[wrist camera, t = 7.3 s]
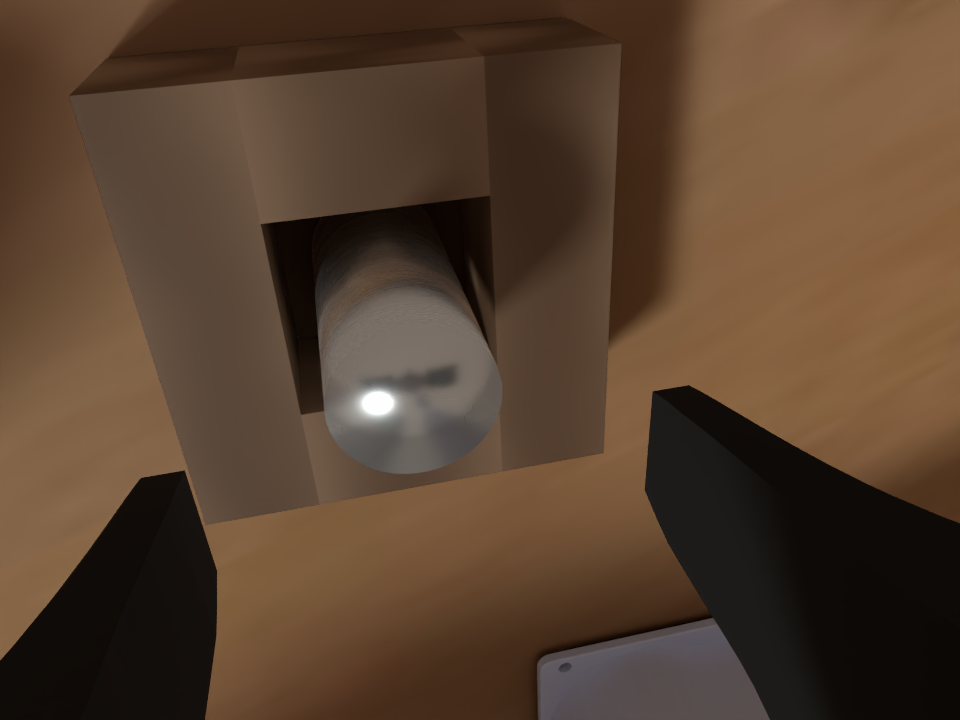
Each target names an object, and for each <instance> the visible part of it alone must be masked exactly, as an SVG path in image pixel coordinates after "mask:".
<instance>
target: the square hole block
mask: <svg viewBox="0 0 960 720" xmlns="http://www.w3.org/2000/svg"><path fill="white" fill-rule="evenodd" d="M621 45H622V43H620V42H618V41H616V40H613V39H611V38H609V37H607V36H605V35H603V34H600V33H598V32H596V31H594V30H592V29H590V28H587V27H585V26H583V25H581V24H579V23H577V22H575V21H572V20H570V19H568V18H566V17H565V18H554V19H543V20H531V21H520V22H509V23H498V24H486V25H475V26H464V27H453V28H441V29H430V30H419V31H408V32H396V33H385V34H374V35H363V36H351V37H340V38H329V39H318V40H306V41H295V42H284V43H273V44H261V45H250V46H239V47H228V48H216V49H205V50H194V51H183V52H171V53H160V54H149V55H138V56H126V57H115V58H107V59H106V60H105V61H104V62H103V63H102V64H101V65H100V66H99V67H98V68H97V69H96V70H95V71H94V72H93V73H92V74H91V75H90V76H89V77H88V78H87V79H86V80H85V81H84V82H83V83H82V84H81V85H80V86H79V87H77V88H76V89H75V90H74V91H73V92H72V93H71V94H70V95H69V98H70V101H71V104H72V107H73V110H74V113H75V117H76V120H77V123H78V126H79V129H80V132H81V135H82V139H83V142H84V145H85V148H86V151H87V154H88V157H89V160H90V164H91V167H92V170H93V173H94V176H95V179H96V182H97V185H98V189H99V192H100V195H101V198H102V201H103V204H104V207H105V211H106V214H107V217H108V220H109V223H110V226H111V229H112V232H113V236H114V239H115V242H116V245H117V248H118V251H119V254H120V257H121V261H122V264H123V267H124V270H125V273H126V276H127V279H128V282H129V286H130V289H131V292H132V295H133V298H134V301H135V304H136V308H137V311H138V314H139V317H140V320H141V323H142V326H143V329H144V333H145V336H146V339H147V342H148V345H149V348H150V351H151V354H152V358H153V361H154V364H155V367H156V370H157V373H158V376H159V380H160V383H161V386H162V389H163V392H164V395H165V398H166V401H167V405H168V408H169V411H170V414H171V417H172V420H173V423H174V426H175V430H176V433H177V436H178V439H179V442H180V445H181V448H182V452H183V455H184V458H185V461H186V464H187V467H188V470H189V473H190V477H191V480H192V483H193V486H194V489H195V492H196V495H197V498H198V502H199V505H200V508H201V511H202V514H203V517H204V520H205V524H206V525H209V524H214V523H220V522H225V521H231V520H236V519H242V518H247V517H253V516H258V515H264V514H269V513H275V512H281V511H286V510H292V509H297V508H303V507H308V506H314V505H319V504H325V503H330V502H336V501H341V500H347V499H352V498H358V497H363V496H369V495H374V494H380V493H385V492H391V491H396V490H402V489H407V488H413V487H418V486H424V485H429V484H435V483H440V482H446V481H452V480H457V479H463V478H468V477H474V476H479V475H485V474H490V473H496V472H501V471H507V470H512V469H518V468H523V467H529V466H534V465H540V464H545V463H551V462H556V461H562V460H567V459H573V458H578V457H584V456H589V455H595V454H600V453H603V451H604V429H605V406H606V383H607V361H608V338H609V316H610V293H611V271H612V248H613V225H614V203H615V180H616V158H617V135H618V112H619V90H620V67H621ZM459 199H461V206H462V222H463V237H464V253H465V268H466V283H467V299H468V302H469V305H470V307H471V309H472V311H473V314H474V316H475V318H476V320H477V322H478V325H479V327H480V329H481V331H482V334H483V336H484V338H485V340H486V343H487V345H488V347H489V349H490V352H491V354H492V356H493V358H494V360H495V363H496V365H497V367H498V370H499V373H500V376H501V381H502V403H501V407H500V411H499V414H498V416H497V419H496V421H495V423H494V425H493V426H492V428H491V430H490V431H489V433H488V434H487V435H486V437H485V438H484V439H483V440H482V441H481V442H480V443H479V444H478V445H477V446H476V447H475V448H474V449H473V450H471V451H470V452H469V453H468V454H466V455H465V456H463V457H462V458H460V459H458V460H456V461H455V462H453V463H451V464H448V465H446V466H443V467H441V468H438V469H434V470H431V471H427V472H421V473H412V474H396V473H388V472H383V471H379V470H375V469H372V468H370V467H367V466H365V465H363V464H361V463H359V462H357V461H355V460H354V459H353V458H351V457H350V456H348V455H347V454H346V453H345V452H344V451H343V450H342V449H341V448H340V447H339V446H338V444H337V443H336V442H335V440H334V439H333V437H332V435H331V433H330V431H329V429H328V426H327V423H326V418H325V413H324V400H323V388H322V376H321V363H320V351H319V338H318V337H313V338H307V339H300V340H298V337H297V332H296V327H295V322H294V317H293V312H292V307H291V302H290V297H289V292H288V287H287V282H286V277H285V272H284V267H283V262H282V257H281V252H280V247H279V242H278V237H277V232H276V227H275V223H274V222H281V221H290V220H298V219H306V218H314V217H322V216H330V215H338V214H346V213H354V212H362V211H370V210H378V209H386V208H394V207H402V206H410V205H418V204H426V203H435V202H443V201H451V200H459Z"/></svg>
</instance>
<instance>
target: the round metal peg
mask: <svg viewBox="0 0 960 720" xmlns="http://www.w3.org/2000/svg"><path fill="white" fill-rule="evenodd" d="M311 248H312V264H313V277H314V289H315V301H316V314H317V326H318V338H319V351H320V363H321V376H322V388H323V400H324V413H325V418H326V423H327V426H328V429H329V431H330V433H331V435H332V437H333V439H334V440H335V442H336V443H337V444H338V446H339V447H340V448H341V449H342V450H343V451H344V452H345V453H346V454H347V455H348V456H350V457H351V458H353V459H354V460H355V461H357V462H359V463H361V464H363V465H365V466H367V467H370V468H372V469H375V470H379V471H383V472H388V473H396V474H412V473H421V472H427V471H431V470H434V469H438V468H441V467H443V466H446V465H448V464H451V463H453V462H455V461H456V460H458V459H460V458H462V457H463V456H465V455H466V454H468V453H469V452H470V451H471V450H473V449H474V448H475V447H476V446H477V445H478V444H479V443H480V442H481V441H482V440H483V439H484V438H485V437H486V435H487V434H488V433H489V431H490V430H491V428H492V426H493V425H494V423H495V421H496V419H497V416H498V414H499V411H500V407H501V403H502V381H501V376H500V373H499V370H498V367H497V365H496V363H495V360H494V358H493V356H492V354H491V352H490V349H489V347H488V345H487V343H486V340H485V338H484V336H483V334H482V331H481V329H480V327H479V325H478V322H477V320H476V318H475V316H474V314H473V311H472V309H471V307H470V305H469V302H468V300H467V298H466V296H465V293H464V291H463V289H462V287H461V284H460V282H459V280H458V278H457V276H456V273H455V271H454V269H453V267H452V264H451V262H450V260H449V258H448V255H447V253H446V251H445V249H444V247H443V244H442V242H441V240H440V238H439V235H438V233H437V231H436V229H435V226H434V224H433V222H432V220H431V219H430V217H429V215H428V214H427V213H426V211H425V210H424V209H423V208H422V207H421V206H420V205H419V204H418V205H410V206H402V207H394V208H386V209H378V210H370V211H362V212H354V213H346V214H338V215H330V216H322V217H321V219H320V220H319V222H318V224H317V226H316V228H315V231H314V234H313V238H312V247H311Z"/></svg>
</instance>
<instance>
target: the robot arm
mask: <svg viewBox="0 0 960 720" xmlns="http://www.w3.org/2000/svg"><path fill="white" fill-rule="evenodd" d="M645 491H646V494H647V496H648V499H649V501H650V503H651V506H652V508H653V511H654V513H655V515H656V518H657V520H658V522H659V524H660V527H661V529H662V531H663V533H664V535H665V537H666V540H667V542H668V544H669V546H670V547H671V549H672V551H673V552H674V554H675V556H676V558H677V559H678V561H679V563H680V564H681V566H682V567H683V569H684V571H685V572H686V574H687V576H688V577H689V579H690V581H691V582H692V584H693V586H694V587H695V589H696V591H697V592H698V594H699V595H700V597H701V599H702V600H703V602H704V604H705V605H706V607H707V608H708V610H709V612H710V613H711V615H712V617H713V618H710V619H706V620H701V621H696V622H692V623H687V624H683V625H678V626H674V627H669V628H665V629H660V630H656V631H651V632H647V633H642V634H638V635H633V636H628V637H624V638H619V639H615V640H610V641H606V642H601V643H597V644H592V645H588V646H583V647H579V648H574V649H570V650H565V651H561V652H556V653H551V654H548V655H545V656H543V657H542V658H541V659H540V660H539V661H538V664H537V697H538V720H960V523H957V522H955V521H952V520H949V519H947V518H944V517H942V516H939V515H937V514H934V513H932V512H929V511H927V510H925V509H922V508H920V507H918V506H915V505H913V504H911V503H908V502H906V501H903V500H901V499H899V498H896V497H894V496H892V495H889V494H887V493H885V492H883V491H881V490H879V489H876V488H874V487H872V486H870V485H868V484H866V483H864V482H862V481H860V480H858V479H856V478H854V477H852V476H850V475H848V474H846V473H844V472H842V471H840V470H838V469H836V468H834V467H832V466H830V465H828V464H826V463H824V462H823V461H821V460H819V459H817V458H815V457H813V456H811V455H810V454H808V453H806V452H804V451H802V450H800V449H799V448H797V447H795V446H793V445H791V444H790V443H788V442H786V441H784V440H783V439H781V438H779V437H777V436H776V435H774V434H772V433H771V432H769V431H767V430H765V429H764V428H762V427H760V426H759V425H757V424H755V423H753V422H752V421H750V420H748V419H747V418H745V417H743V416H742V415H740V414H738V413H737V412H735V411H733V410H732V409H730V408H728V407H726V406H725V405H723V404H721V403H720V402H718V401H716V400H715V399H713V398H711V397H709V396H708V395H706V394H704V393H702V392H700V391H699V390H697V389H695V388H693V387H691V386H689V385H688V386H682V387H676V388H670V389H664V390H659V391H653V395H652V407H651V420H650V432H649V444H648V457H647V469H646V481H645ZM216 626H217V570H216V566H215V563H214V560H213V557H212V554H211V551H210V548H209V545H208V542H207V539H206V535H205V532H204V529H203V526H202V523H201V520H200V517H199V514H198V511H197V507H196V504H195V501H194V498H193V495H192V492H191V489H190V486H189V483H188V479H187V476H186V473H185V471H180V472H174V473H168V474H162V475H156V476H150V477H144V478H141V479H140V480H139V481H138V482H137V484H136V485H135V486H134V488H133V489H132V490H131V492H130V493H129V495H128V496H127V497H126V499H125V500H124V502H123V503H122V504H121V506H120V507H119V509H118V510H117V511H116V513H115V514H114V516H113V517H112V519H111V520H110V521H109V523H108V524H107V526H106V527H105V528H104V530H103V531H102V533H101V534H100V535H99V537H98V538H97V540H96V541H95V542H94V544H93V545H92V547H91V548H90V549H89V551H88V552H87V553H86V555H85V556H84V557H83V559H82V560H81V561H80V563H79V564H78V565H77V567H76V568H75V569H74V571H73V572H72V573H71V575H70V576H69V577H68V579H67V580H66V581H65V583H64V584H63V585H62V587H61V588H60V589H59V591H58V592H57V593H56V594H55V596H54V597H53V598H52V600H51V601H50V602H49V603H48V605H47V606H46V607H45V608H44V609H43V611H42V612H41V613H40V614H39V615H38V617H37V618H36V619H35V620H34V621H33V623H32V624H31V625H30V626H29V627H28V629H27V630H26V631H25V632H24V633H23V635H22V636H21V637H20V638H19V640H18V641H17V642H16V643H15V644H14V646H13V647H12V648H11V649H10V650H9V651H8V652H7V654H6V655H5V656H4V657H3V658H2V659H1V660H0V720H205V714H206V707H207V700H208V693H209V686H210V679H211V671H212V664H213V657H214V649H215V641H216Z"/></svg>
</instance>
